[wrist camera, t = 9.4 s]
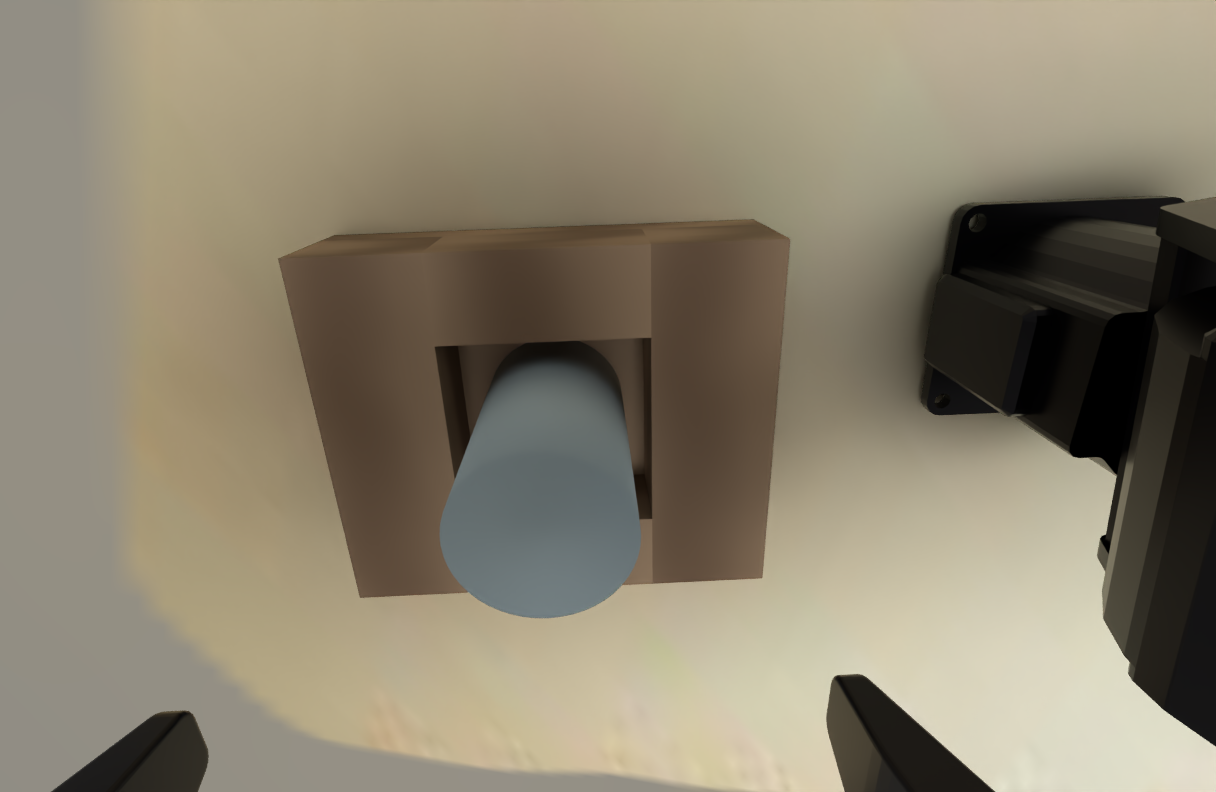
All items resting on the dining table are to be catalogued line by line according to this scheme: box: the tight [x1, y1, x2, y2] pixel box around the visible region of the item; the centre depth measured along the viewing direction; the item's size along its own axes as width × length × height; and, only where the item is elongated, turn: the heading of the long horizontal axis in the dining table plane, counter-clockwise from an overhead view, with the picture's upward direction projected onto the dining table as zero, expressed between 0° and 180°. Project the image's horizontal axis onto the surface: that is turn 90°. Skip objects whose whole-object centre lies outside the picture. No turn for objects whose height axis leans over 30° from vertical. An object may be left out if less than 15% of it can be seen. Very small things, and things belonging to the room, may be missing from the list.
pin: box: [440, 341, 641, 618], centre depth 16 cm, size 4×4×7 cm
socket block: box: [278, 220, 790, 598], centre depth 18 cm, size 12×10×4 cm
